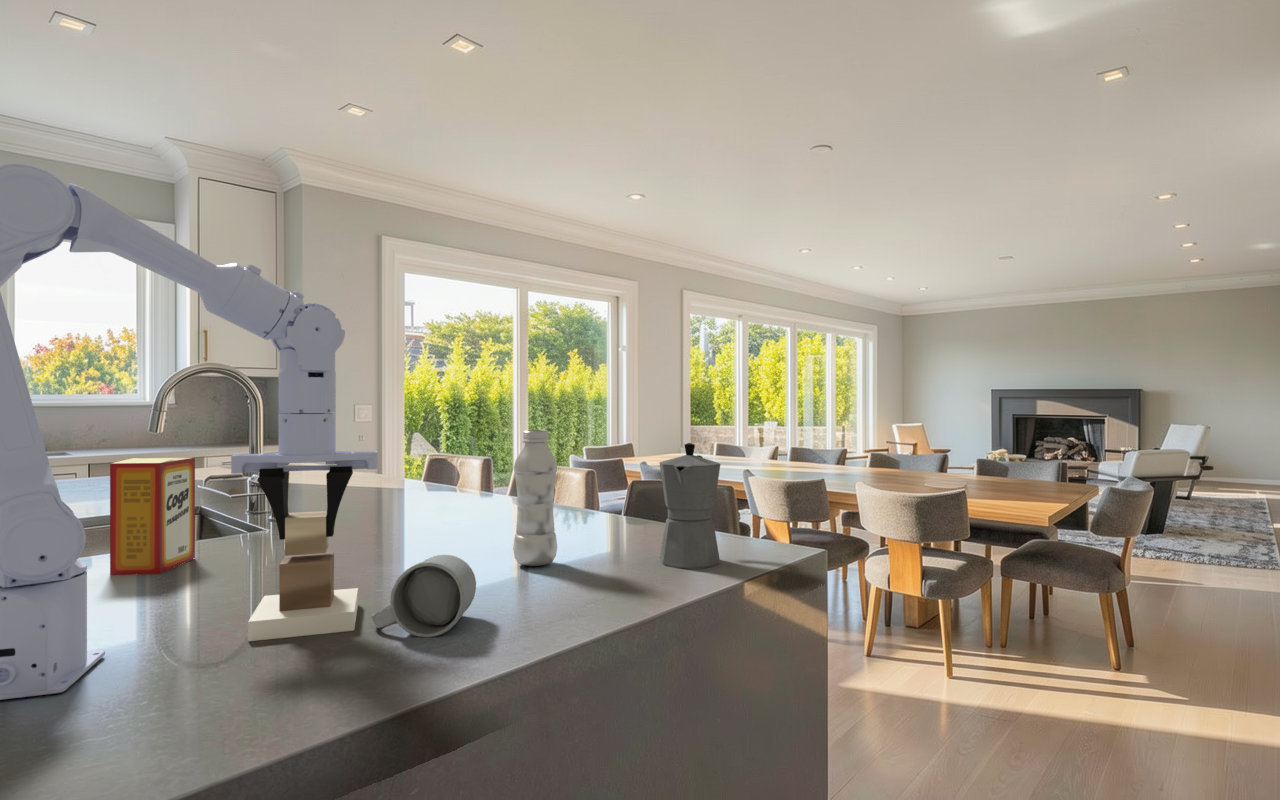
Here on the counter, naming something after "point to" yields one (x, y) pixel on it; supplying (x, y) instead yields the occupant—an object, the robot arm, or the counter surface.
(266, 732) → the counter surface
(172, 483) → the baking soda box
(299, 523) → the maple block
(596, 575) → the counter surface
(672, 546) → the coffeepot
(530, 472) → the plastic bottle
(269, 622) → the base
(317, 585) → the walnut block
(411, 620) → the ceramic mug
